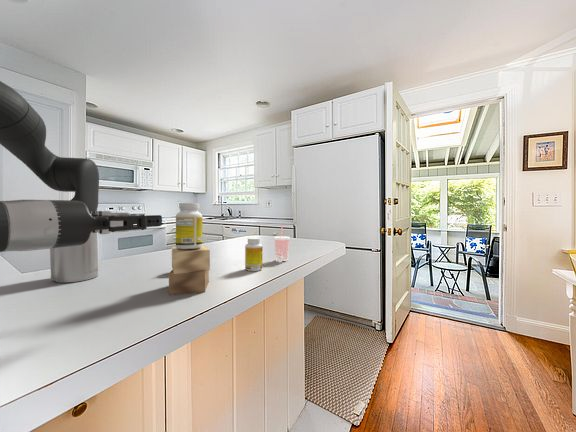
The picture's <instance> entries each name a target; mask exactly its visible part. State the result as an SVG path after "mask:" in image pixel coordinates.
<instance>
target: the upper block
mask: <svg viewBox="0 0 576 432" xmlns="http://www.w3.org/2000/svg"><path fill="white" fill-rule="evenodd" d="M210 252H211V250H210V249H209V248H208V246H206V245H204V244H202V247H201V248H196V249H178V248H176V246H171V268H172V269H171V270H173V273H174V274H180V273H189V272H198V271H207V270H209V271H210V270H211V268H210V267H211V264H210V263H211V258H210V257H211V256H210Z"/></svg>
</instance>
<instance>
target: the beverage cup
mask: <svg viewBox="0 0 576 432" xmlns="http://www.w3.org/2000/svg"><path fill="white" fill-rule="evenodd" d="M280 225H281V227H280V228H281V230H280V232H281V233H280V234H281V235H277V236H273V240H274V252H275V253H274V255H275V257H274V258H275V261H276V260H277V261H286V260H288V261H289V251H290V249H289V248H290V240H291V237H290V236H289V235H288V236H287V235H286V236H285V235H283V234H284V233H283V232H284V231H283V229H284V228H283V225H284V224H283V223H281V224H280ZM277 261H276V262H277Z"/></svg>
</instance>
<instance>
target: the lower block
mask: <svg viewBox="0 0 576 432" xmlns="http://www.w3.org/2000/svg"><path fill="white" fill-rule="evenodd" d="M209 271H210V270H207V271H198V272H189V273H180V274H174V273H173V269H171V271H169V273H168V295H180V294H181V295H182V294H198V293H205V292H206V291H207V288H208V286H209V282H210V280H209V278H210V276H209V275H210V272H209Z"/></svg>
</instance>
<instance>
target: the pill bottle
mask: <svg viewBox="0 0 576 432" xmlns="http://www.w3.org/2000/svg"><path fill="white" fill-rule="evenodd" d="M178 209H179V210H180V211H178V212H177V213H176V215H175V247H176V248H178V249H196V248H201V247H202V245H203V214H202V213H201V212H199V210H200V203H194V202H193V203H191V202H190V203H189V202H188V203H187V202H180V203H179V208H178Z"/></svg>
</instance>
